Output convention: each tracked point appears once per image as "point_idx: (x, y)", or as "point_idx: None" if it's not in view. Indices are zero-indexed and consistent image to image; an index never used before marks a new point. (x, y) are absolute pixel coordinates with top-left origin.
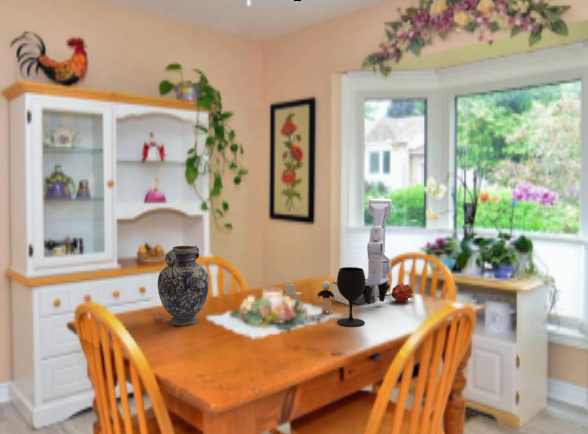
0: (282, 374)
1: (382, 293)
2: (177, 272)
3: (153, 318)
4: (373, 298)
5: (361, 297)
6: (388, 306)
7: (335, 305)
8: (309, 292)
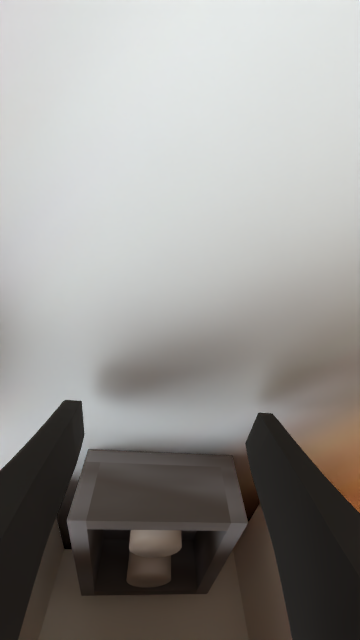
0: None
1: (34, 512)
2: None
3: None
4: (96, 487)
5: (235, 520)
6: (69, 316)
7: (349, 500)
8: None
